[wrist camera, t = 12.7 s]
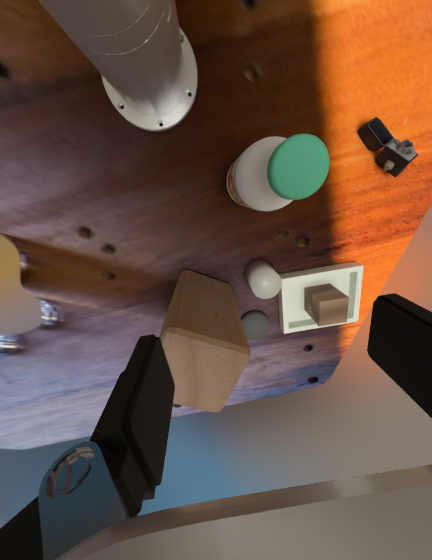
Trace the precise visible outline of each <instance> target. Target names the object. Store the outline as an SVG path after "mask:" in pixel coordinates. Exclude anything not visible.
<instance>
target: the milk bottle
mask: <svg viewBox="0 0 432 560" xmlns="http://www.w3.org/2000/svg"><path fill="white" fill-rule="evenodd" d="M328 170H329V154H328V151H327V148H326V146H325V145H324V143H323V142H322V141H321V140H320V139H319V138H317V137H316V136H313V135H310V134H297V135H294V136H291V137H289V138H287V139H286V138H283V137H268V138H264V139H261V140H259V141H257V142H255V143H254V144H252V145H251V146H250V147H249V148H247V149H246V150H245V151H244V152H243V153H242V154H241V155H240V156H239V157H238V158H237V159H236V160H235V162H234V163H233V164H232V166H231V167H230V169H229V171H228V174H227V189H228V192H229V194H230V196H231V198H232V199H233V200H234V201H235V202H236V203H238V204H239V205H241V206H244V207H247V208H251V209H254V210H259V211H273V210H277V209H280V208H282V207H284V206H286V205H287V204H289V203H290V202H291V201H293V200H299V199H303V198H306V197H308V196H310V195H312V194H313V193H314V192H316V191H317V190H318V189H319V188H320V186H321V185H322V184H323V182H324V180H325V178H326V176H327V173H328Z"/></svg>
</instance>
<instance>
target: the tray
mask: <svg viewBox="0 0 432 560" xmlns="http://www.w3.org/2000/svg"><path fill="white" fill-rule="evenodd" d="M363 266H364V265H362V264H360V263H357V262H355V261H353V262H347V263H341V264H335V265H330V266H324V267H318V268H312V269H306V270H301V271H295V272H289V273H283V274H278V275H279V276H280V278H281V280H282V287H281V289H280V291H279V292H278V302H279V318H280V327H281V329H282V331H283V333H284V334H285V333H291V332H297V331H303V330H309V329H314V328H320V327H326V326H332V325H338V324H344V323H350V322H356V321H358V315H359V305H360V295H361V285H362V276H363ZM329 283H330V284H331V285H333V286H334V287H335V288H337V289H338V290H340V291H341V292H343V293H344V294H345V295H347V296H348V297H349V304H348V315H347V322H344V323H338V324H332V325H325V326H318V325H317V324H316V323H315V321H314V320H313V319H312V318H311V317H310V316H309V315H308V313H307V312H306V311H305V310H304V288H305V287H311V286H317V285H323V284H329Z"/></svg>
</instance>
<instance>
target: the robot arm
mask: <svg viewBox="0 0 432 560" xmlns="http://www.w3.org/2000/svg"><path fill="white" fill-rule="evenodd" d="M38 1H39V2H40V3H41V5H42V6H43V7H44V8H45V9H46V10H47V12H48V13H49V14H50V15H51V16H52V17H53V18H54V20H55V21H56V22H57V23H58V24H59V25H60V27H61V28H62V29H63V30H64V31H65V33H66V34H67V35H68V36H69V37H70V38H71V40H72V41H73V42H74V43H75V44H76V45H77V47H78V48H79V49H80V50H81V51H82V52H83V54H84V55H85V56H86V57H87V58H88V59H89V60H90V62H91V63H92V64H93V65H94V66H95V67H96V69H97V70H98V71H99V72H100V73H101V76H102V81H103V84H104V87H105V90H106V92H107V95H108V97H109V98H110V100H111V102H112V104H113V105H114V107H115V108H116V109H117V111H118V112H119V113H120V114H121V115H122V116H123V117H124V118H125V119H126V120H127V121H129V122H130V123H131V124H133V125H134V126H136V127H138V128H140V129H143V130H146V131H150V132H163V131H167V130H170V129H172V128H174V127H176V126H177V125H179V124H180V123H181V122H182V121H183V120H184V119H185V118H186V116H187V115H188V113H189V112H190V110H191V108H192V106H193V103H194V101H195V97H196V93H197V83H198V76H197V66H196V59H195V56H194V53H193V49H192V47H191V45H190V43H189V41H188V38H187V36H186V35H185V34H184V32H183V31H182V29H181V28H180V27H179V24H178V17H177V10H176V4H175V0H38ZM181 41H182V42H183V43H181ZM188 94H191V95H192V96H191V97H189V96H188ZM122 106H124V109H122V108H121V107H122ZM161 123H162V124H163V126H162V127H160V124H161ZM367 351H368V354H369V356H370V358H371V359H372V360H373V361H374V362H375V363H376V364H377V365H378V366H379V367H380V368H381V369H383V371H384V372H385V373H387V374H388V376H389V377H391V378H392V379H393V380H394V381H395V382H396V383H397V384H398V385H399V386H400V387H401V388H402V389H403V390H404V391H405V392H406V393H407V394H408V395H409V396H410V397H411V398H412V399H413V400H414V401H415V402H416V403H417V404H418V405H419V406H420V407H421V408H422V409H423V410H424V411H425V412H426V413H427V414H428V415H429V416H430V417H431V418H432V312H430V311H428V310H426V309H425V308H423V307H421V306H419V305H417V304H415V303H413V302H411V301H409V300H407V299H405V298H403V297H401V296H400V295H397V294H387V295H381V296H378V297H377V299H376V300H375V301H374V303H373V310H372V318H371V325H370V333H369V341H368V349H367ZM174 393H175V384H174V380H173V377H172V374H171V371H170V367H169V364H168V361H167V358H166V355H165V352H164V349H163V346H162V343H161V340H160V338H159V337H156V336H155V335H154V334H152V335H147V336H141V337H140V338H139V340H138V342H137V344H136V347H135V349H134V351H133V353H132V356H131V358H130V360H129V362H128V365H127V367H126V369H125V371H123V372H122V373H121V374H120V376H119V378H118V380H117V382H116V385H115V387H114V389H113V391H112V393H111V395H110V398H109V400H108V402H107V404H106V406H105V408H104V410H103V413H102V415H101V417H100V419H99V421H98V423H97V426H96V428H95V430H94V432H93V434H92V436H91V439H90V441H83V442H81V443H78V444H75V445H74V446H72V447H71V448H69V449H67V450H66V451H65V452H64V453H62V454H61V455H60V456H59V457H58V458H57V459H56V460H55V461H54V462H53V464H52V465H51V466H50V468H49V469H48V470H47V472H46V473H45V475H44V477H43V479H42V481H41V484H40V487H39V494H38V497H37V498H35V499H34V500H33V501H32V502H31V503H30V504H28V505H27V506H26V507H25V508H24V509H23V510H21V511H20V512H19V513H18V514H17V515H16V516H15V517H13V518H12V519H11V520H10V521H9V522H8V523H6V524H5V525H4V526H3V527H2V528H1V529H0V560H432V465H427V466H421V467H414V468H409V469H402V470H396V471H389V472H383V473H376V474H370V475H364V476H358V477H351V478H345V479H339V480H333V481H326V482H320V483H314V484H308V485H302V486H296V487H290V488H284V489H278V490H272V491H266V492H259V493H254V494H248V495H242V496H235V497H229V498H223V499H218V500H213V501H207V502H202V503H197V504H191V505H186V506H181V507H175V508H170V509H165V510H161V511H157V512H153V513H149V514H145V515H141V516H138V513H139V512H140V511H141V507H142V502H143V500H148V499H154V494H155V488H156V486H158V485H160V483H161V480H162V474H163V467H164V460H165V453H166V447H167V439H168V433H169V426H170V420H171V413H172V406H173V399H174Z"/></svg>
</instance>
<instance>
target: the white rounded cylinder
mask: <svg viewBox="0 0 432 560" xmlns="http://www.w3.org/2000/svg"><path fill="white" fill-rule="evenodd" d="M245 276H246V279H247V281H248V283H249V285H250V287H251V289H252V291H253V293H254V294H255V295H256V296H257V297H259V298H262V299H269V298H272V297H274V296H275V295H277V294H278V292H279V291H280V289H281V287H282V280H281V278H280V276H279V275H278V274H277V273H276V272H275V271H274V269H273V268H272V267H271V266H270V265H269V264H268V263H267V262H265V261H262V260H257V261H254V262H252V263H250V264H249V265H248V267H247V268H246V271H245Z"/></svg>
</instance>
